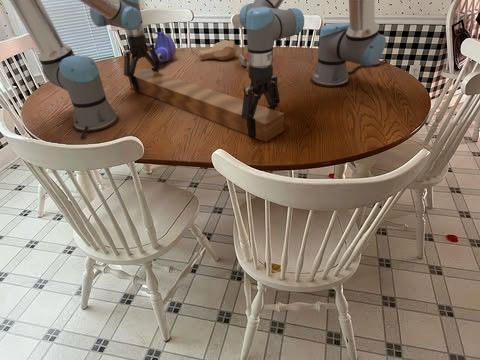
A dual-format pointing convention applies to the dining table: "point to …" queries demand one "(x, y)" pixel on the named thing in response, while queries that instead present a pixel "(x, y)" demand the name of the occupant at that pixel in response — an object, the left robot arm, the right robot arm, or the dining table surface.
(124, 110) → the dining table surface
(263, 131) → the slab
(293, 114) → the dining table surface
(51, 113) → the dining table surface
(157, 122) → the dining table surface
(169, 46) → the toy
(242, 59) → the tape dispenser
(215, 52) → the squash
